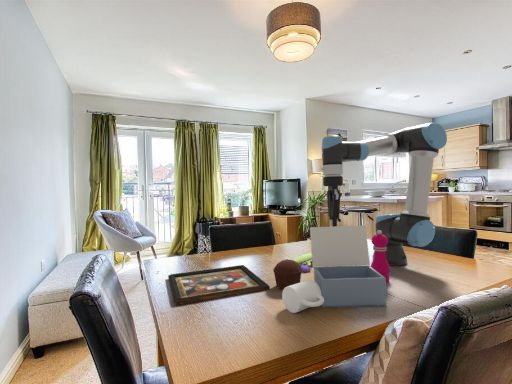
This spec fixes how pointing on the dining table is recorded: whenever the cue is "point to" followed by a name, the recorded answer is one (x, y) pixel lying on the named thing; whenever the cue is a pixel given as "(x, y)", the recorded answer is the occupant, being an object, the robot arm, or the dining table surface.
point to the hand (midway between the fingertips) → (334, 235)
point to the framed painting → (214, 284)
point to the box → (351, 286)
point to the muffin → (287, 273)
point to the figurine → (304, 261)
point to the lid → (339, 246)
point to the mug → (302, 296)
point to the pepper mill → (380, 255)
